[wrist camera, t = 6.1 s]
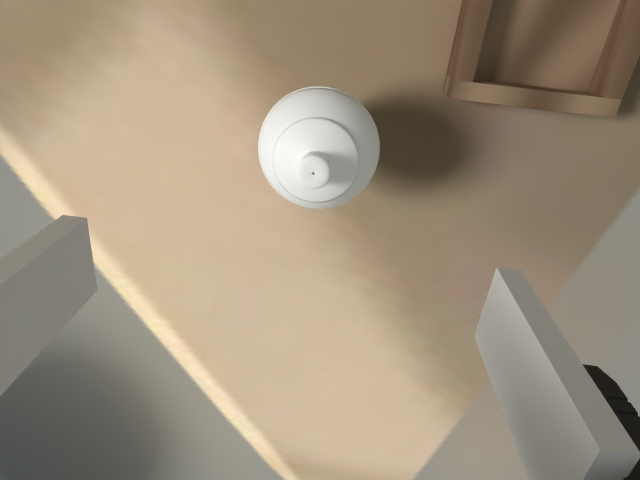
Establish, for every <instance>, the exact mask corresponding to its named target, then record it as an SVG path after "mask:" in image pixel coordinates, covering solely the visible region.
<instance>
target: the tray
mask: <svg viewBox="0 0 640 480" xmlns="http://www.w3.org/2000/svg"><path fill="white" fill-rule="evenodd" d="M639 56H640V0H463V1H462V6H461V10H460V15H459V19H458V24H457V28H456V33H455V38H454V42H453V47H452V51H451V56H450V60H449V65H448V70H447V74H446V79H445V83H444V88H443V93H445V94H446V95H447V96H448V97H449V98H450V99H457V100H466V101H475V102H483V103H492V104H500V105H509V106H517V107H526V108H534V109H543V110H551V111H560V112H568V113H577V114H585V115H594V116H602V117H611V118H615V117H616V114H617V112H618V109H619V106H620V104H621V101H622V99H623V96H624V94H625V91H626V89H627V86H628V84H629V81H630V79H631V76H632V74H633V71H634V69H635V66H636V64H637V61H638V59H639Z"/></svg>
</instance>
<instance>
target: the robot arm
mask: <svg viewBox="0 0 640 480" xmlns="http://www.w3.org/2000/svg"><path fill="white" fill-rule="evenodd" d="M96 291H97V284H96V278H95V271H94V264H93V257H92V250H91V244H90V237H89V230H88V223H87V218H83V217H75V216H66V215H62V216H61V217H60V218H58V219H57V220H55V221H54V222H52V223H51V224H50V225H48V226H47V227H45V228H44V229H42V230H41V231H40V232H38V233H37V234H35V235H34V236H32V237H31V238H30V239H28V240H27V241H25V242H24V243H23V244H21V245H20V246H18V247H17V248H15V249H14V250H12V251H11V252H10V253H8V254H7V255H5V256H4V257H2V258H1V259H0V395H1V394H2V393H3V392H4V391H5V390H6V389H7V388H8V387H9V386H10V385H11V383H12V382H13V381H14V380H15V379H16V378H17V377H18V376H19V375H20V374H21V373H22V371H23V370H24V369H25V368H26V367H27V366H28V365H29V364H30V363H31V362H32V361H33V359H34V358H35V357H36V356H37V355H38V354H39V353H40V352H41V351H42V350H43V349H44V348H45V346H46V345H47V344H48V343H49V342H50V341H51V340H52V339H53V338H54V337H55V336H56V334H57V333H58V332H59V331H60V330H61V329H62V328H63V327H64V326H65V324H67V322H68V321H69V320H70V319H71V318H72V317H73V316H74V315H75V314H76V313H77V311H79V309H80V308H81V307H82V306H83V305H84V304H85V303H86V302H87V301H88V300H89V298H90V297H91V296H92V295H93V294H94V293H95V292H96ZM474 337H475V340H476V343H477V345H478V348H479V351H480V353H481V356H482V358H483V361H484V364H485V366H486V369H487V372H488V374H489V377H490V380H491V382H492V385H493V387H494V390H495V393H496V395H497V398H498V401H499V403H500V406H501V409H502V411H503V414H504V416H505V419H506V422H507V424H508V427H509V430H510V432H511V435H512V437H513V440H514V443H515V446H516V448H517V451H518V454H519V456H520V459H521V462H522V464H523V467H524V470H525V472H526V475H527V477H528V480H640V417H638V413H637V411H636V410H635V408H634V407H633V406H632V404H631V403H630V402H628V399H627V397H626V396H625V395H624V393H623V392H622V390H621V389H620V387H619V386H618V385H617V383H616V382H615V381H614V380H613V379H611V378H610V377H609V376H608V375H607V374H606V373H604V372H603V371H602V370H601V369H600V368H598V367H597V366H591V365H583V364H582V363H581V361H580V360H579V358H578V357H577V355H576V354H575V352H574V351H573V349H572V348H571V346H570V345H569V343H568V342H567V340H566V339H565V337H564V336H563V334H562V333H561V331H560V330H559V328H558V326H557V325H556V324H555V322H554V320H553V319H552V317H551V316H550V315H549V313H548V311H547V310H546V308H545V307H544V305H543V304H542V302H541V301H540V299H539V297H538V296H537V294H536V293H535V291H534V290H533V288H532V287H531V285H530V284H529V282H528V281H527V279H526V278H525V276H524V275H523V273H522V272H521V271H520V270H512V269H504V268H496V271H495V274H494V277H493V280H492V283H491V286H490V289H489V292H488V295H487V299H486V302H485V305H484V308H483V311H482V314H481V317H480V320H479V323H478V326H477V329H476V332H475V335H474Z"/></svg>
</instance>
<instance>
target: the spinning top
mask: <svg viewBox="0 0 640 480" xmlns="http://www.w3.org/2000/svg"><path fill="white" fill-rule="evenodd" d="M258 153H259V160H260V164H261V167H262V170H263V172H264V174H265V176H266V178H267V180H268V181H269V183H270V184H271V186H272V187H273V188H274V189H275V190H276V191H277V192H278V193H279V194H280V195H281V196H283V197H284V198H286V199H287V200H289V201H290V202H292V203H294V204H297V205H299V206H303V207H307V208H312V209H326V208H332V207H336V206H339V205H342V204H344V203H346V202H348V201H350V200H352V199H353V198H355V197H356V196H357V195H358V194H359V193H361V192H362V191H363V190H364V188H365V187H366V186H367V185H368V183H369V182H370V180H371V179H372V177H373V175H374V173H375V170H376V168H377V164H378V160H379V155H380V141H379V135H378V131H377V127H376V125H375V122H374V120H373V118H372V117H371V115H370V113H369V112H368V111H367V109H366V108H365V107H364V106H363V105H362V104H361V103H360V102H359V101H358V100H357V99H355V98H354V97H353V96H351V95H350V94H348V93H346V92H344V91H342V90H339V89H336V88H332V87H326V86H311V87H306V88H302V89H299V90H296V91H294V92H292V93H290V94H288V95H286V96H285V97H283V98H282V99H281V100H279V101H278V102H277V103H276V104H275V105H274V106H273V107H272V109H271V110H270V111H269V113H268V114H267V116H266V118H265V120H264V122H263V124H262V127H261V131H260V135H259V143H258Z"/></svg>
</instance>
